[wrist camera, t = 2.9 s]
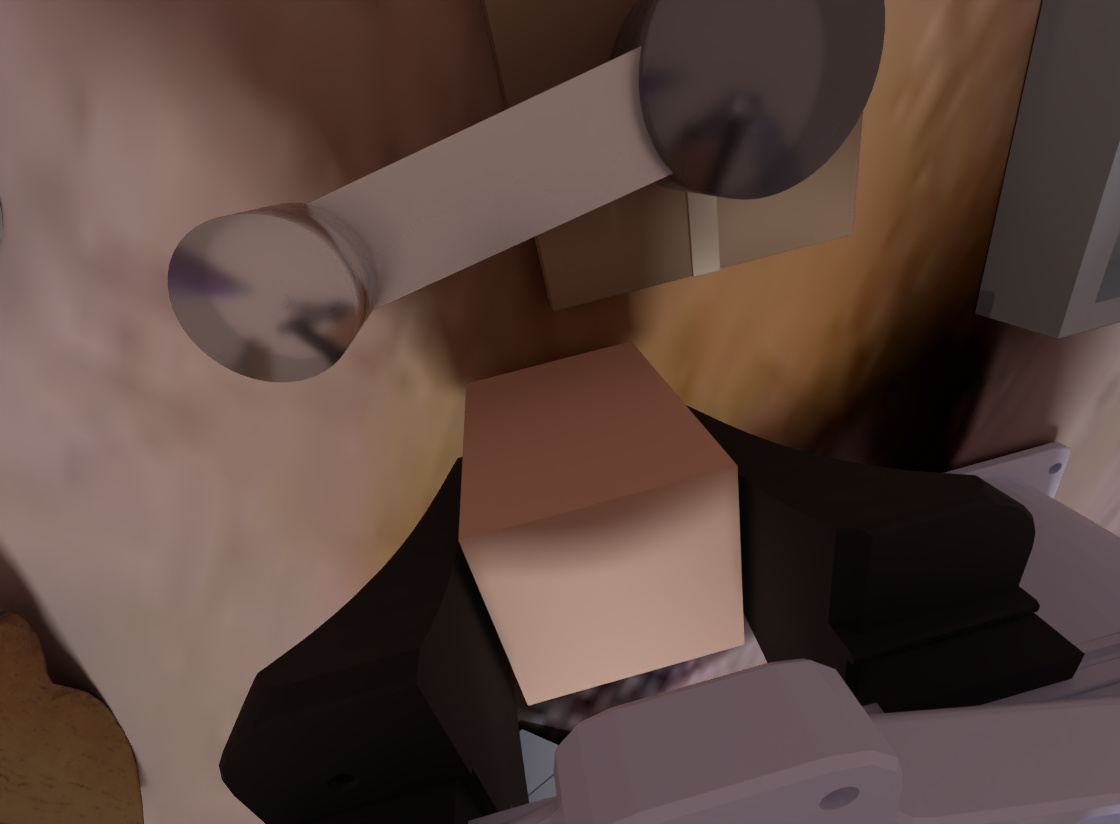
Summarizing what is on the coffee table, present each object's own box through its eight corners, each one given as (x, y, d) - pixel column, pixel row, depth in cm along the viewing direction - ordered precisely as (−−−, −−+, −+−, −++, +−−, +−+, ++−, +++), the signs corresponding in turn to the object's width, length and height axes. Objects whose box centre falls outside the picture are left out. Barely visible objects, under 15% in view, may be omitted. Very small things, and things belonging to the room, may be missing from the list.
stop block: (650, 475, 15) (744, 644, 10) (510, 512, 15) (527, 705, 10) (630, 341, 13) (737, 465, 8) (466, 383, 13) (458, 540, 7)
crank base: (827, 229, 13) (855, 235, 12) (548, 301, 13) (554, 312, 12) (852, -190, 10) (894, -229, 9) (457, -103, 9) (455, -133, 8)
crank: (773, -78, 9) (976, -240, 5) (800, 147, 11) (964, 140, 7) (225, 184, 10) (72, 198, 6) (342, 354, 12) (281, 445, 8)
